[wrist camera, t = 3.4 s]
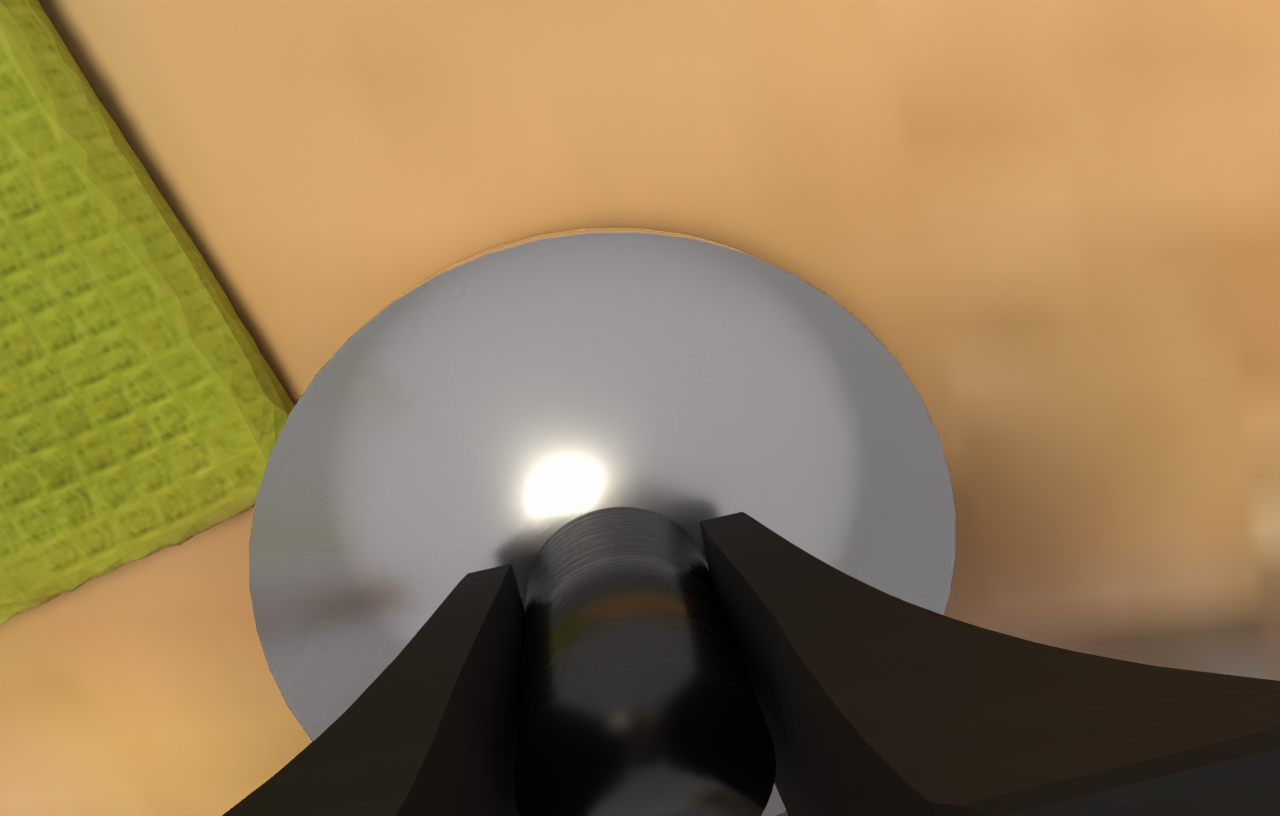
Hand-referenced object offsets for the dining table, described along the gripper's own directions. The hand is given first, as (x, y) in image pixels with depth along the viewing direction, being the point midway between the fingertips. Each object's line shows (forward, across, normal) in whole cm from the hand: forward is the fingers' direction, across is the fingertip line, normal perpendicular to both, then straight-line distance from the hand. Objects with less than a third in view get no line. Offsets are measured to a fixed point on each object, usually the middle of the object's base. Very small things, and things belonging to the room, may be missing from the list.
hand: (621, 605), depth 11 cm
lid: (+2, 0, 0) cm, 2 cm away
